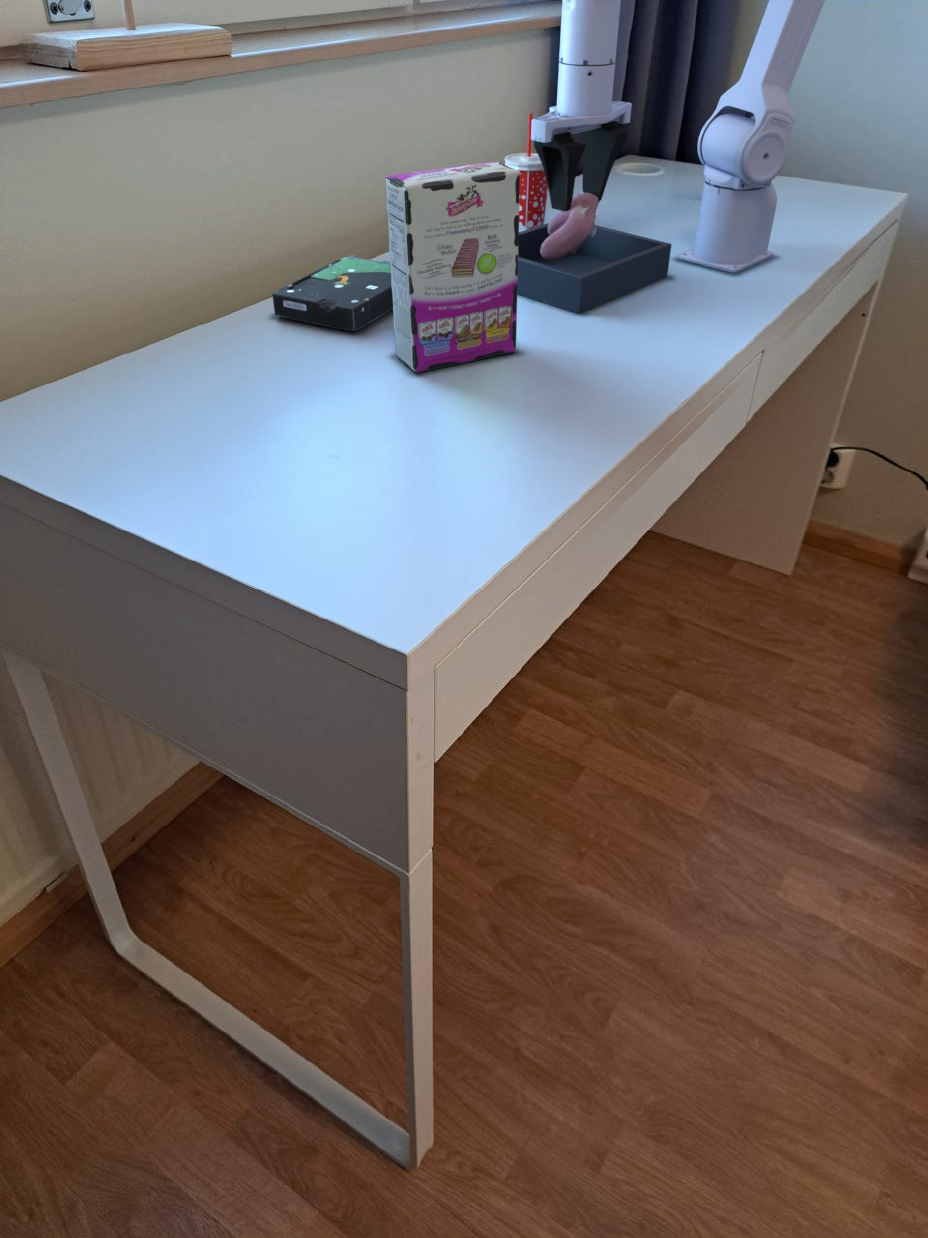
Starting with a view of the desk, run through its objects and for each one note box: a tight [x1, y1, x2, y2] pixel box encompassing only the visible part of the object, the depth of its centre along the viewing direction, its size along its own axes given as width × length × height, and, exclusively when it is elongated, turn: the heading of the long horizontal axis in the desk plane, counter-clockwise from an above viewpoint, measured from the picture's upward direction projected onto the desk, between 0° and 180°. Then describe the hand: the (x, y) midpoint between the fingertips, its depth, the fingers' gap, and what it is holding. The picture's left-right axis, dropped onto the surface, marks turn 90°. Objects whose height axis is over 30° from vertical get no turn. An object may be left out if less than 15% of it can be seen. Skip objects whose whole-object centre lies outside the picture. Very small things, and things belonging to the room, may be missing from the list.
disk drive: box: [271, 255, 393, 332], centre depth 99 cm, size 10×3×15 cm
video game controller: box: [540, 190, 600, 260], centre depth 102 cm, size 10×5×7 cm, turn 171°
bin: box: [517, 222, 672, 315], centre depth 106 cm, size 17×16×4 cm
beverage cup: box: [504, 112, 549, 232], centre depth 117 cm, size 6×6×14 cm
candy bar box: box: [384, 161, 520, 373], centre depth 84 cm, size 11×5×16 cm, turn 117°
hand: (576, 204), depth 102 cm, fingers closed on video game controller, 5 cm apart
